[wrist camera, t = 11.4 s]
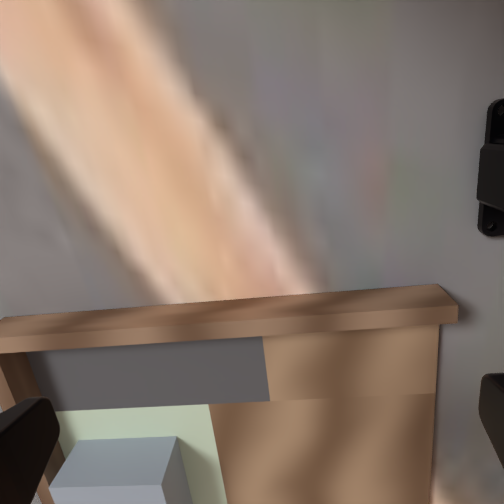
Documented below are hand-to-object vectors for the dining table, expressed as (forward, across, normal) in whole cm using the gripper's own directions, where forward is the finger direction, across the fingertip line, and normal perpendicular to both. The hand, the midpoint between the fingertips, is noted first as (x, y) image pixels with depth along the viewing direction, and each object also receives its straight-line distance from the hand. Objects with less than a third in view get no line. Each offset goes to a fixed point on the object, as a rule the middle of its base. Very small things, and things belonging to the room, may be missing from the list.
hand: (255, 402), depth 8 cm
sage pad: (+13, +11, +17) cm, 24 cm away
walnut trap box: (+13, +4, +17) cm, 22 cm away
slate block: (+12, +11, +17) cm, 24 cm away
